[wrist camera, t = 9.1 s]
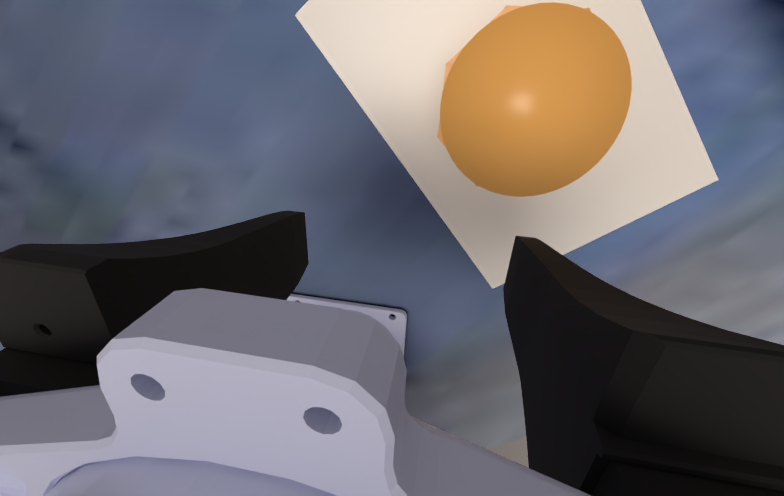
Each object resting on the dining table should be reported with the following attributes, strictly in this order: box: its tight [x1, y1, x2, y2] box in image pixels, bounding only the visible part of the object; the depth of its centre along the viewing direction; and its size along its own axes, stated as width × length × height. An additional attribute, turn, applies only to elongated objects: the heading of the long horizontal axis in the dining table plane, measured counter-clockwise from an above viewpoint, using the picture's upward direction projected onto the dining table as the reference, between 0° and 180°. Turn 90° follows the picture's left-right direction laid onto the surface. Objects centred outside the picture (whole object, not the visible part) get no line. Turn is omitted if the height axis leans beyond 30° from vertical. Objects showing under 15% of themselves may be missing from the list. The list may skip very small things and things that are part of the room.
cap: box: [437, 2, 632, 197], centre depth 14 cm, size 6×6×6 cm
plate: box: [295, 0, 718, 289], centre depth 16 cm, size 18×12×5 cm, turn 38°
